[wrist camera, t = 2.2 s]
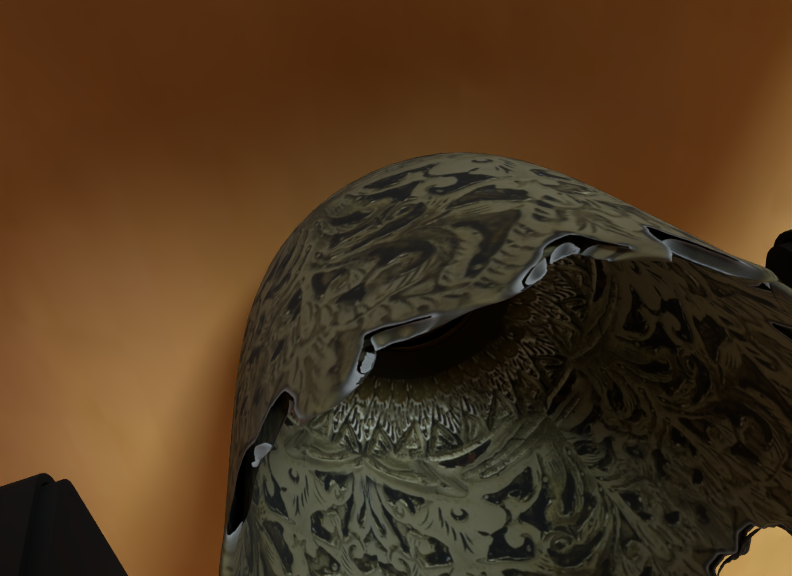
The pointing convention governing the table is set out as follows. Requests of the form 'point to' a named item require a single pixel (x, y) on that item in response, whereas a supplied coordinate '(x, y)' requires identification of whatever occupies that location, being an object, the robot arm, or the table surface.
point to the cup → (505, 386)
